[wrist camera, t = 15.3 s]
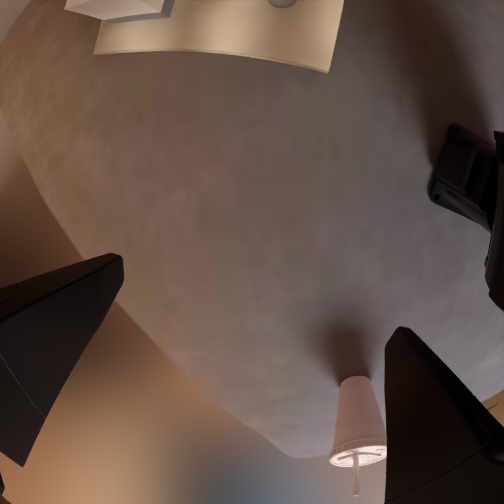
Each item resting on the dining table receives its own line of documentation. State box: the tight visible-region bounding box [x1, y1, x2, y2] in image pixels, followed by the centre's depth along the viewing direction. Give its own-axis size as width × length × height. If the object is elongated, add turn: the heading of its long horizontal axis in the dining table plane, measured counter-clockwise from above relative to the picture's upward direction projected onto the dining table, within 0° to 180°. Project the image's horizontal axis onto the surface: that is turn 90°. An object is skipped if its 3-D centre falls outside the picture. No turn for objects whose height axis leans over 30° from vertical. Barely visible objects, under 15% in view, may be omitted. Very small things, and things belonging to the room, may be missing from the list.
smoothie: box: [329, 376, 387, 496], centre depth 22 cm, size 6×6×14 cm
